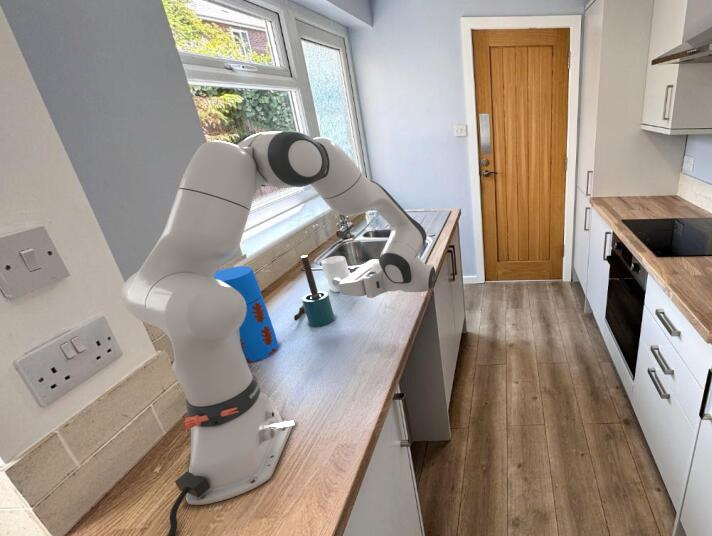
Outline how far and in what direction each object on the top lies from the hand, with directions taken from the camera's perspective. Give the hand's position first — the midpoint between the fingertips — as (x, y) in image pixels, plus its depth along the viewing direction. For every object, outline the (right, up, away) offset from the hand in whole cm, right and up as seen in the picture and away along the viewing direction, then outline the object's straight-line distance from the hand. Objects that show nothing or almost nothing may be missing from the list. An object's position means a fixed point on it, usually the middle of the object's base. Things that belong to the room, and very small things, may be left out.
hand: (342, 275), depth 125 cm
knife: (-20, -12, +16) cm, 29 cm away
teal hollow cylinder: (-11, -15, +10) cm, 21 cm away
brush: (-11, -14, +9) cm, 20 cm away
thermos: (-22, -23, -6) cm, 32 cm away
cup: (-15, -4, +33) cm, 36 cm away
